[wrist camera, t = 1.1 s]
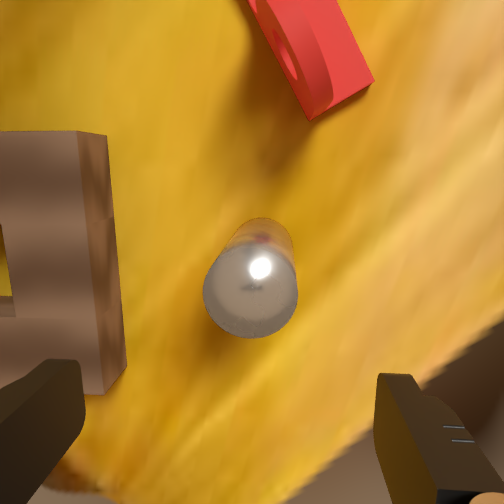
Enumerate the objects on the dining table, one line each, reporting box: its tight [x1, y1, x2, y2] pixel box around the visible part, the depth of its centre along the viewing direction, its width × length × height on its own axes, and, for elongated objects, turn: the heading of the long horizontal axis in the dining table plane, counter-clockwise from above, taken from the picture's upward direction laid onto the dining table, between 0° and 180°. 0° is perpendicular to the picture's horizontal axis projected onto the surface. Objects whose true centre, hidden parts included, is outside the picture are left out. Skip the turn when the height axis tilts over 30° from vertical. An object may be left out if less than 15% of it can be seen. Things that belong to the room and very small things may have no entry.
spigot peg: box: [203, 218, 298, 338], centre depth 22 cm, size 4×4×10 cm
